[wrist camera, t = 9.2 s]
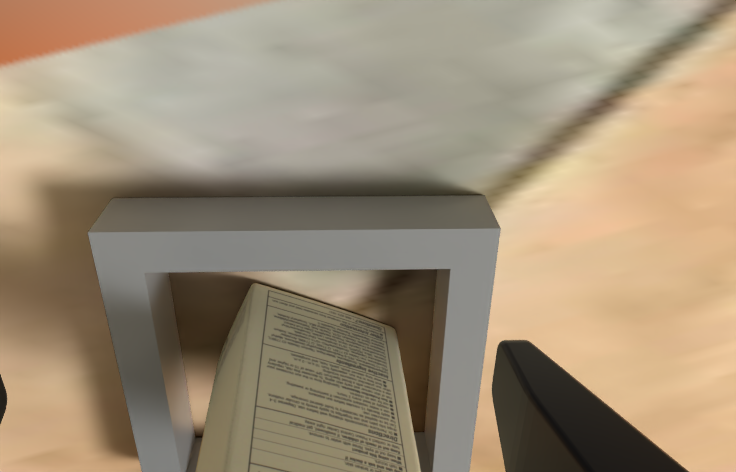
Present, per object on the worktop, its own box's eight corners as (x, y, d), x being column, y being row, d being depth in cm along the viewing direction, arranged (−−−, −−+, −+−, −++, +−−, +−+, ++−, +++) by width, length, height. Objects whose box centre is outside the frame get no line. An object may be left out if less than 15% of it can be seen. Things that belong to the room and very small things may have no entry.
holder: (165, 462, 28) (150, 511, 26) (112, 198, 22) (87, 232, 20) (455, 455, 29) (465, 502, 27) (484, 195, 23) (500, 228, 20)
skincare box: (216, 359, 26) (130, 700, 15) (252, 276, 24) (185, 594, 13) (361, 404, 27) (378, 742, 16) (406, 329, 25) (458, 654, 15)
